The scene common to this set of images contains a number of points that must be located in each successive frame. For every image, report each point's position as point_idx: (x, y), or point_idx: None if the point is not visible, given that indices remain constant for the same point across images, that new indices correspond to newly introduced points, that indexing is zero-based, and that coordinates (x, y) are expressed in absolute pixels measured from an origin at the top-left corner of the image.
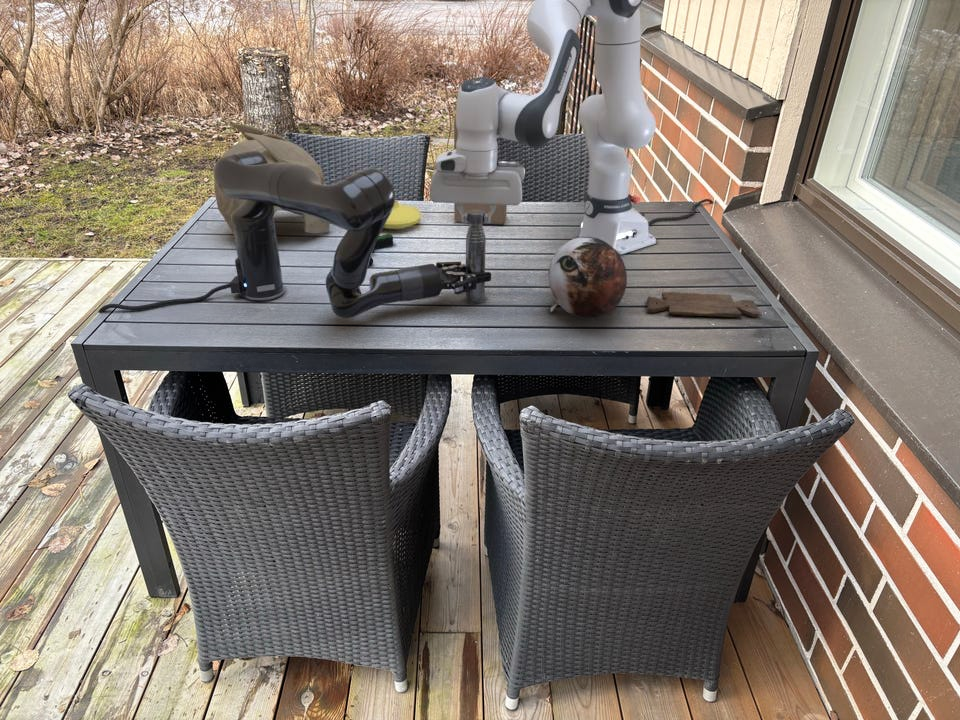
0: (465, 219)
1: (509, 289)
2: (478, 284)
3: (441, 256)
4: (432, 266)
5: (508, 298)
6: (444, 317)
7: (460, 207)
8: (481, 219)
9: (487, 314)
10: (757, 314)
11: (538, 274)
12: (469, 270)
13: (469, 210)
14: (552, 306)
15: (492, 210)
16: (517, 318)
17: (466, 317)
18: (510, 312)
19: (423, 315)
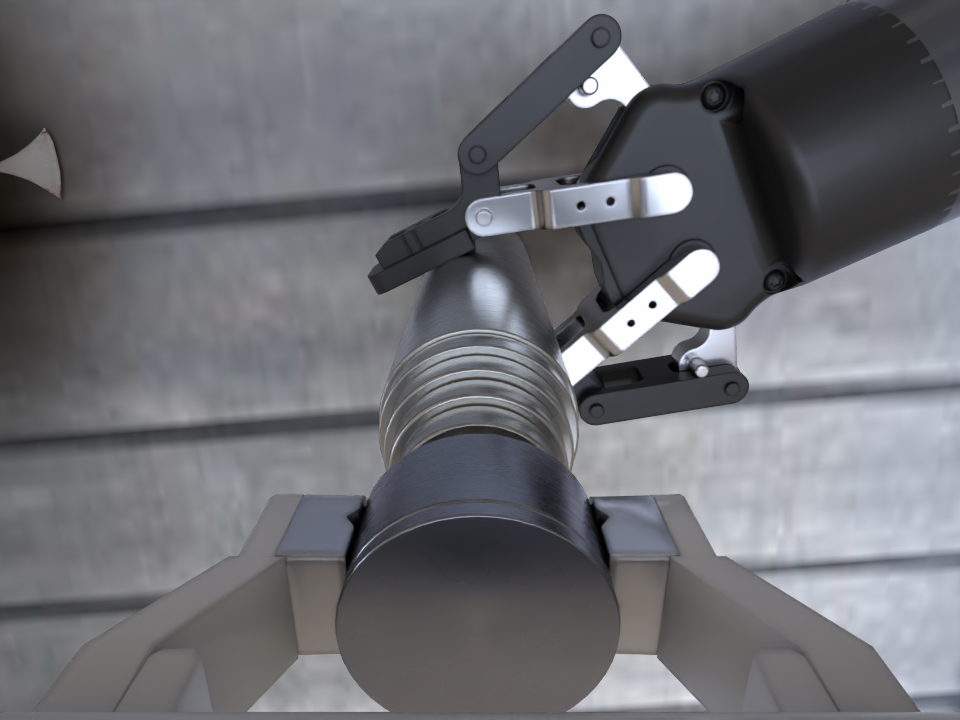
0: (631, 513)
1: (316, 397)
2: None
3: (657, 684)
4: (826, 163)
5: (308, 298)
6: (637, 27)
7: (793, 654)
8: (387, 499)
9: (397, 91)
10: None
11: (202, 557)
12: (517, 268)
13: (589, 688)
14: (37, 170)
15: (155, 624)
16: (225, 54)
17: (512, 39)
18: (275, 129)
19: (756, 42)
